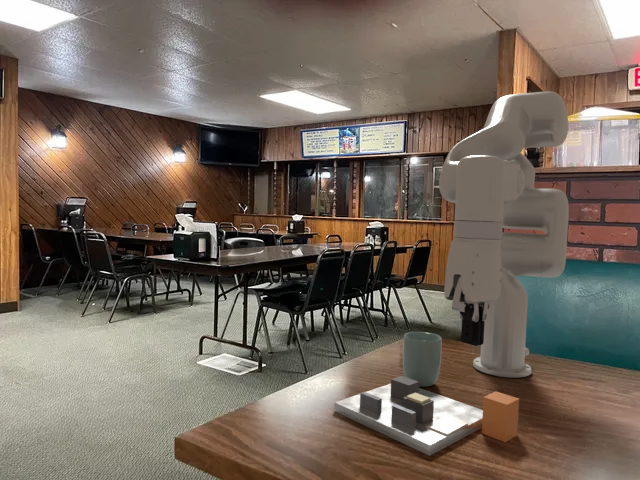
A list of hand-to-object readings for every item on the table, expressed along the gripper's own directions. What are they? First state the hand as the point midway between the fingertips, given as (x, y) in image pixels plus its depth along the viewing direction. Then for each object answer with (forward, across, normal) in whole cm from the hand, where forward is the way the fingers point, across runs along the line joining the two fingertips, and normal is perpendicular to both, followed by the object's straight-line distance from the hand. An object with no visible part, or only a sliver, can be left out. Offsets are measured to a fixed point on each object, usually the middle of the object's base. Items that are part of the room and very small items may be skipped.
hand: (472, 343), depth 79 cm
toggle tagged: (+12, +7, -5) cm, 15 cm away
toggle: (+12, +2, -12) cm, 18 cm away
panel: (+14, +4, -8) cm, 17 cm away
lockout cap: (+14, -2, +5) cm, 15 cm away
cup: (+14, -10, -18) cm, 25 cm away
